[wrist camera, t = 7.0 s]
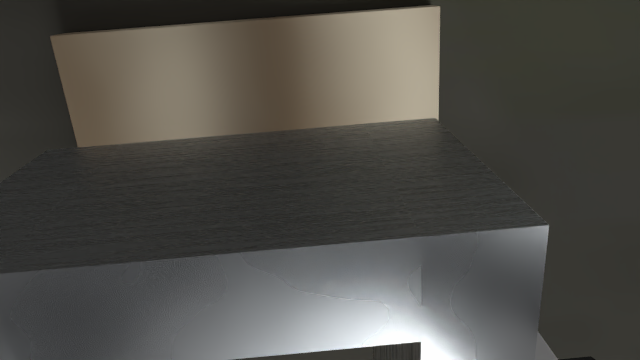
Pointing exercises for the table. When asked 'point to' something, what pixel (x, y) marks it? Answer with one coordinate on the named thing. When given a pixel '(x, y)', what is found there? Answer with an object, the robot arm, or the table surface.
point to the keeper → (250, 75)
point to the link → (269, 249)
